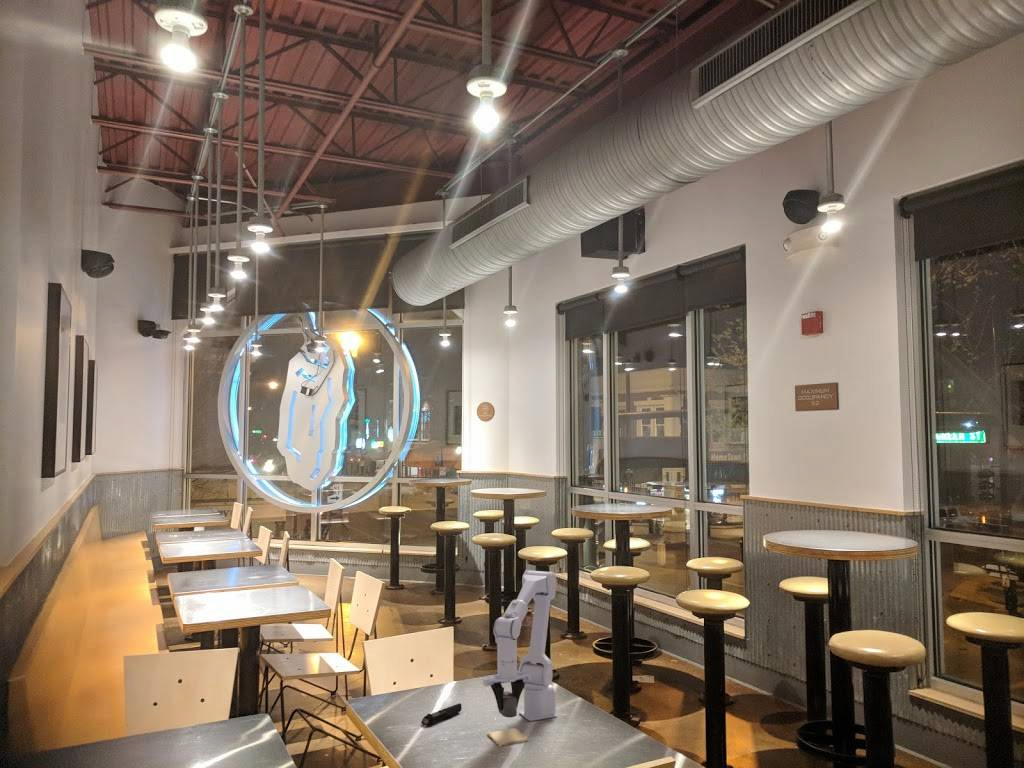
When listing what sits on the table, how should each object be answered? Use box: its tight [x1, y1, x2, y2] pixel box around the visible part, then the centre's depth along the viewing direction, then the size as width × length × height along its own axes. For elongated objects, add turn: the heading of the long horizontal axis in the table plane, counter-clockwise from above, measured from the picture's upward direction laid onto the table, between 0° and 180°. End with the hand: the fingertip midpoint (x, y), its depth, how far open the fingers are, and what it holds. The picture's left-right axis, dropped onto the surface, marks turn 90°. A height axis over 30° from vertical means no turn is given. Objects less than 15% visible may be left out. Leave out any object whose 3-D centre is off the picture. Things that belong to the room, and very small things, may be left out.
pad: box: [487, 727, 529, 747], centre depth 216 cm, size 9×9×1 cm
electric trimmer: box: [421, 703, 463, 727], centre depth 232 cm, size 4×16×3 cm, turn 140°
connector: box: [498, 691, 518, 718], centre depth 218 cm, size 9×4×5 cm, turn 24°
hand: (507, 708), depth 217 cm, fingers closed on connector, 4 cm apart
